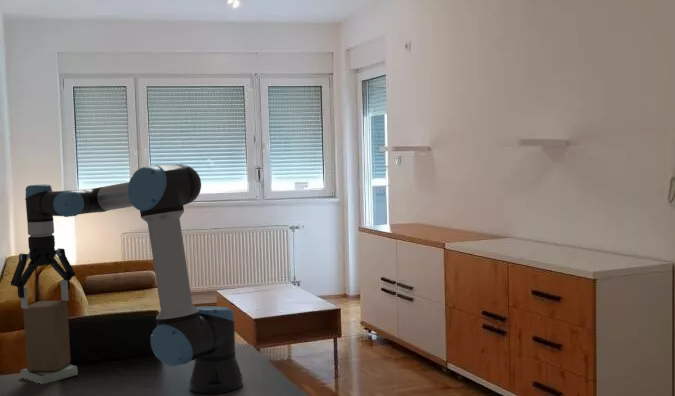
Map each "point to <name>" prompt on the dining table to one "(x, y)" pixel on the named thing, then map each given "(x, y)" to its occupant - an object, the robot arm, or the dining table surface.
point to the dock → (49, 374)
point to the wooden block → (47, 335)
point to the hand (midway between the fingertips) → (45, 304)
